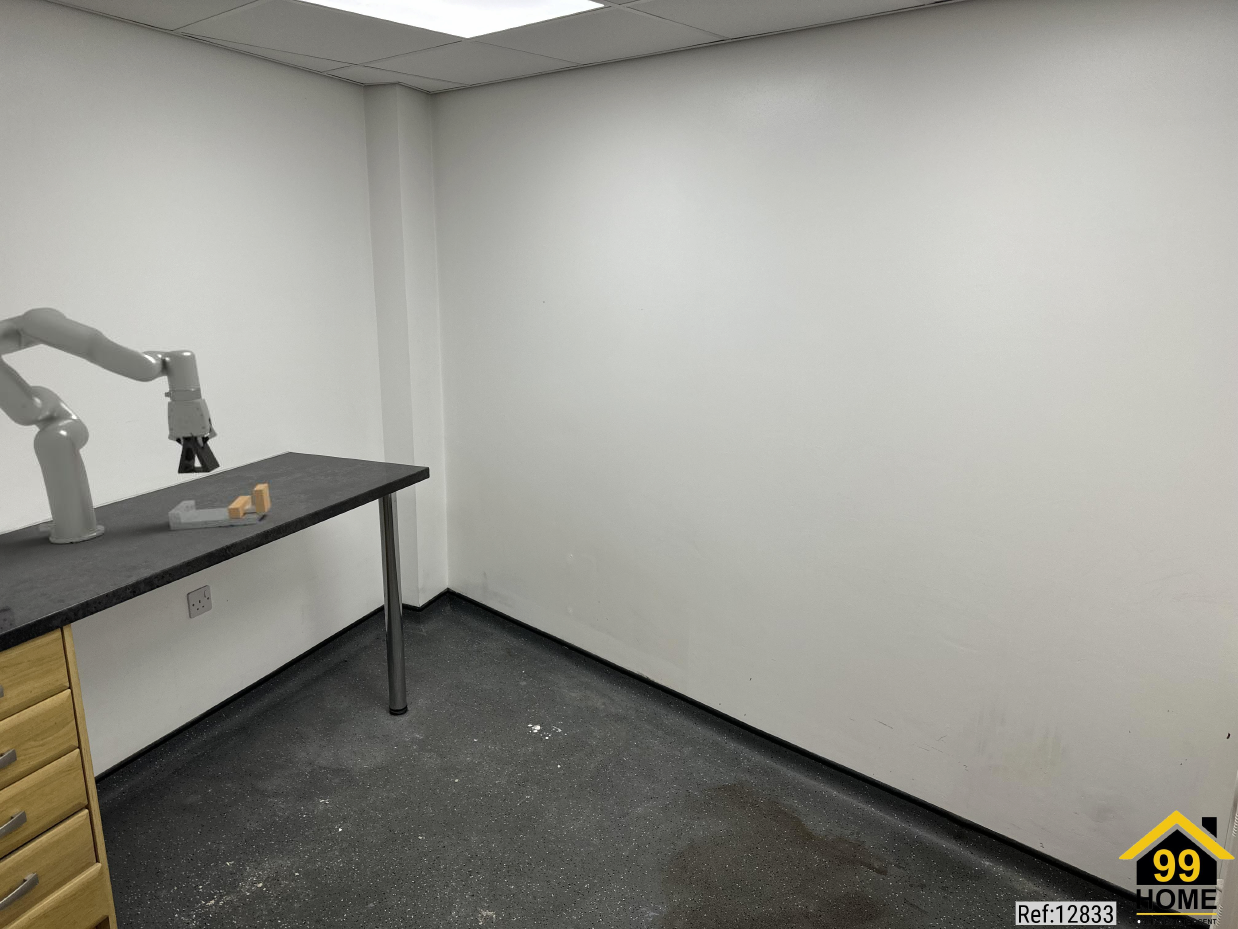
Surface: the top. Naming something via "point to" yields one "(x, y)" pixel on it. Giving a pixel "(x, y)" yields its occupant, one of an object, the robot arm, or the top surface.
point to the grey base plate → (215, 519)
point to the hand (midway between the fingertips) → (196, 459)
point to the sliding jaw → (245, 504)
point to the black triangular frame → (204, 457)
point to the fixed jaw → (182, 511)
